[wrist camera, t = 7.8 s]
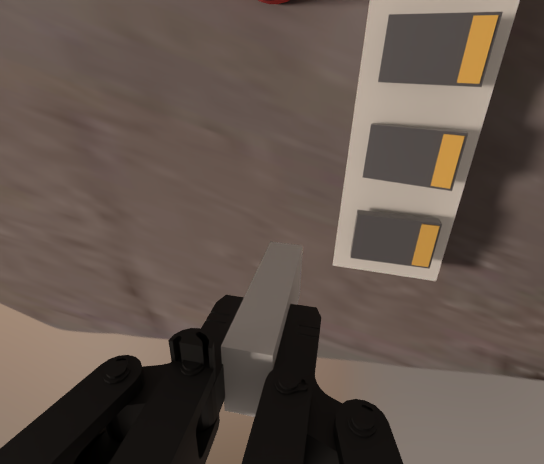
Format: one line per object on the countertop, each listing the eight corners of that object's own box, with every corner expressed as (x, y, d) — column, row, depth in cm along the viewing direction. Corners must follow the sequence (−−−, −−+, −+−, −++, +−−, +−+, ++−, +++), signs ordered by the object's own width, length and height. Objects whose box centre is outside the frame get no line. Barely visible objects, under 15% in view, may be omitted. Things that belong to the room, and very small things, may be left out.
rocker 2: (357, 209, 30) (357, 214, 29) (438, 218, 29) (442, 224, 28) (350, 252, 32) (350, 258, 31) (426, 262, 31) (429, 269, 30)
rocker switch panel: (385, -111, 25) (390, -143, 21) (534, -120, 23) (566, -156, 20) (334, 248, 38) (332, 265, 34) (428, 261, 36) (436, 281, 32)
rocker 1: (391, 17, 25) (388, 14, 24) (500, 15, 22) (503, 11, 21) (380, 82, 27) (377, 82, 25) (479, 87, 24) (481, 87, 23)
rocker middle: (373, 122, 28) (370, 124, 27) (467, 131, 25) (468, 133, 24) (365, 174, 30) (362, 177, 29) (451, 187, 27) (452, 191, 26)
